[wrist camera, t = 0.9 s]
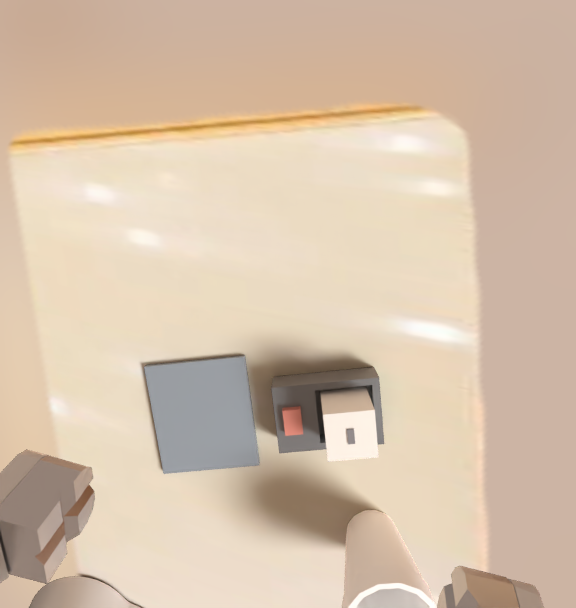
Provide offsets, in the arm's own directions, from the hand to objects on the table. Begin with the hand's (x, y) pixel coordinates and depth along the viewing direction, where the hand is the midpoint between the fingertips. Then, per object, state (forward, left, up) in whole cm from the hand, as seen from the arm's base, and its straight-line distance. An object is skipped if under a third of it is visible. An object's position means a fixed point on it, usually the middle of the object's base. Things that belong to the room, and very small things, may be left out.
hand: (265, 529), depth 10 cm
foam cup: (-34, -6, -42) cm, 54 cm away
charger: (-16, -4, -40) cm, 43 cm away
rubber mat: (-16, +13, -41) cm, 46 cm away
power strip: (-16, -2, -41) cm, 44 cm away
